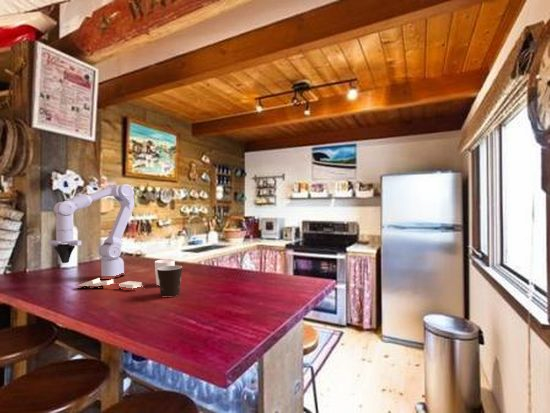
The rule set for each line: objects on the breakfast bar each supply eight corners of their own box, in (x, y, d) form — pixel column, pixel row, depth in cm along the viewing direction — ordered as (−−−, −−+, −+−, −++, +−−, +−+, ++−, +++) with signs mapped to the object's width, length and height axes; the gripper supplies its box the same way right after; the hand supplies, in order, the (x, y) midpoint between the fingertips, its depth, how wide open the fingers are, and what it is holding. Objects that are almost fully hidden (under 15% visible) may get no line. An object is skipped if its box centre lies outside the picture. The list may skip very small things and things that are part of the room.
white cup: (178, 282, 130) (177, 259, 130) (170, 287, 123) (169, 262, 123) (160, 282, 131) (160, 259, 131) (151, 287, 123) (151, 262, 123)
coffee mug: (178, 298, 107) (177, 270, 107) (153, 298, 107) (153, 270, 107) (188, 289, 119) (187, 263, 119) (166, 289, 119) (165, 264, 119)
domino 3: (128, 281, 124) (141, 282, 122) (128, 284, 124) (141, 286, 122) (119, 283, 120) (132, 284, 118) (119, 287, 120) (133, 289, 118)
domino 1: (84, 282, 127) (99, 277, 126) (85, 286, 127) (100, 281, 126) (76, 285, 122) (92, 280, 122) (77, 289, 122) (93, 284, 122)
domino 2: (96, 282, 127) (113, 278, 126) (97, 286, 127) (113, 282, 126) (90, 285, 122) (106, 281, 122) (90, 289, 122) (107, 285, 122)
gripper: (41, 231, 125) (41, 264, 125) (71, 230, 122) (71, 264, 122) (56, 229, 132) (57, 261, 132) (85, 229, 129) (86, 261, 129)
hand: (65, 262), depth 127 cm, fingers closed
